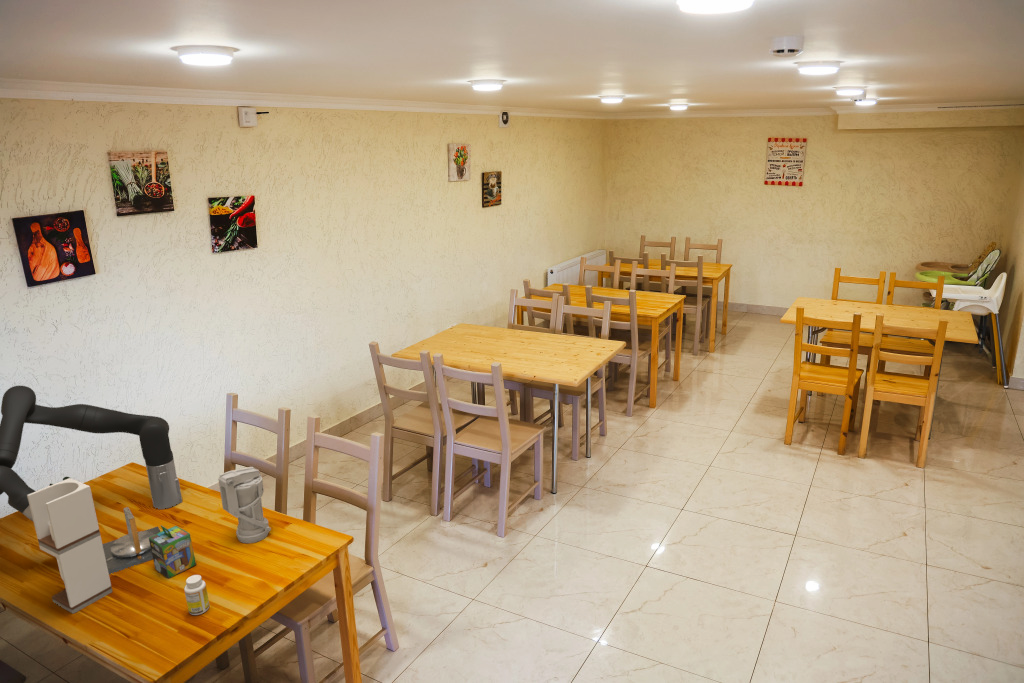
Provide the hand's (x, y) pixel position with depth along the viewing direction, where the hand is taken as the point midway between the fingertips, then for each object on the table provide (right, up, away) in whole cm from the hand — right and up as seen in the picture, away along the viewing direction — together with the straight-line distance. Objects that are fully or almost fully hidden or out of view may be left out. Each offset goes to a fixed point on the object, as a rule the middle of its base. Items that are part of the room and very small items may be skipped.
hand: (94, 543), depth 218 cm
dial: (+9, -3, +6) cm, 12 cm away
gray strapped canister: (+44, -2, +14) cm, 46 cm away
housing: (+9, -5, +8) cm, 13 cm away
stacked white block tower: (+6, -12, -15) cm, 20 cm away
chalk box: (+27, -7, -2) cm, 28 cm away
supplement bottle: (+43, -13, -22) cm, 50 cm away
